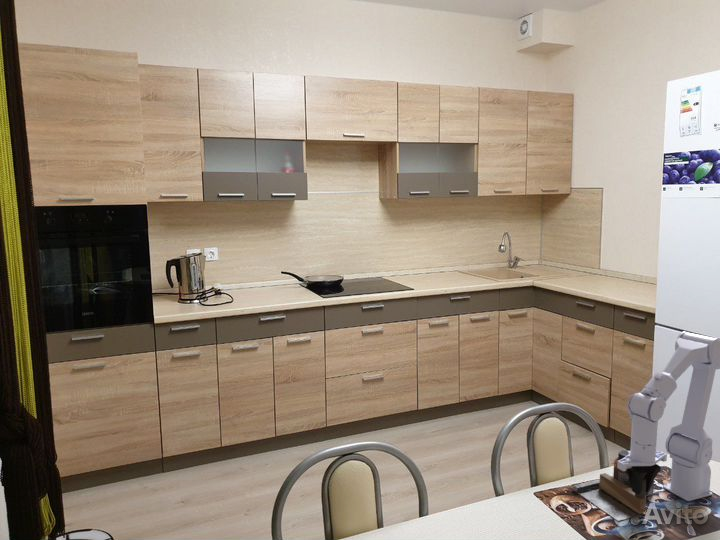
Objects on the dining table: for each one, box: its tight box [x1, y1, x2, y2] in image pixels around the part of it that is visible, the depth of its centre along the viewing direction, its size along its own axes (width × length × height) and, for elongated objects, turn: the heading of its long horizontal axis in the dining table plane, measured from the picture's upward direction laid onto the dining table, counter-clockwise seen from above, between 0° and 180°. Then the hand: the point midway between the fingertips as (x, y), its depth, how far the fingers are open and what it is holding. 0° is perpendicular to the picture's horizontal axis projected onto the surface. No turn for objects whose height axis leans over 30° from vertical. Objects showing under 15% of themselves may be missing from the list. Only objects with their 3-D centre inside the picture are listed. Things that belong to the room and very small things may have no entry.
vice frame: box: [572, 475, 655, 522], centre depth 146 cm, size 18×16×4 cm
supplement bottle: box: [612, 449, 631, 488], centre depth 149 cm, size 6×6×11 cm
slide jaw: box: [598, 472, 647, 514], centre depth 144 cm, size 2×14×9 cm, turn 20°
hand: (640, 491), depth 139 cm, fingers closed on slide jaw, 2 cm apart
